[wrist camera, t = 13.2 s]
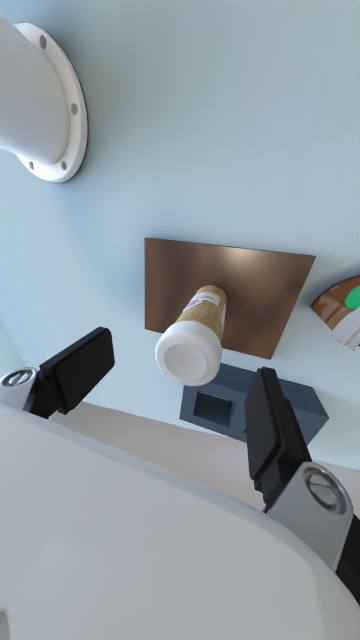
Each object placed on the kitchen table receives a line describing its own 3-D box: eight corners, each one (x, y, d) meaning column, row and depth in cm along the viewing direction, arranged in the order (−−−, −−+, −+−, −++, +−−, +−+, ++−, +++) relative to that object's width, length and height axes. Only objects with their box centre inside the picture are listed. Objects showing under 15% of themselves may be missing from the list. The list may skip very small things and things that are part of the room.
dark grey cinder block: (186, 396, 33) (179, 418, 29) (192, 355, 29) (185, 375, 24) (286, 428, 29) (295, 460, 25) (312, 387, 24) (329, 418, 20)
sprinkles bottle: (210, 277, 21) (181, 318, 9) (234, 301, 21) (236, 370, 10) (187, 300, 23) (141, 357, 12) (210, 322, 24) (187, 398, 12)
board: (147, 326, 29) (144, 329, 28) (148, 237, 23) (144, 237, 22) (269, 355, 24) (270, 359, 23) (311, 255, 18) (316, 256, 17)
